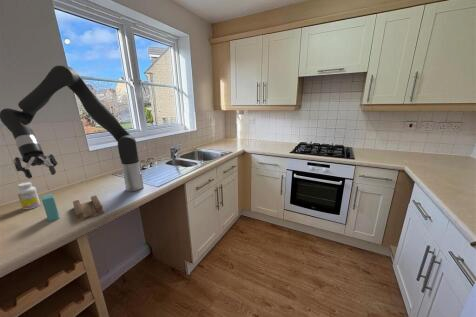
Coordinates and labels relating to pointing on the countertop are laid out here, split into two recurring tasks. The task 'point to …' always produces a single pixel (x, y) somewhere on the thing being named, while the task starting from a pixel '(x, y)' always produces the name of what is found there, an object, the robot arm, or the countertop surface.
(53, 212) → the teal rectangular block
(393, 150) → the countertop surface
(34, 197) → the supplement bottle
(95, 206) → the wooden cradle
